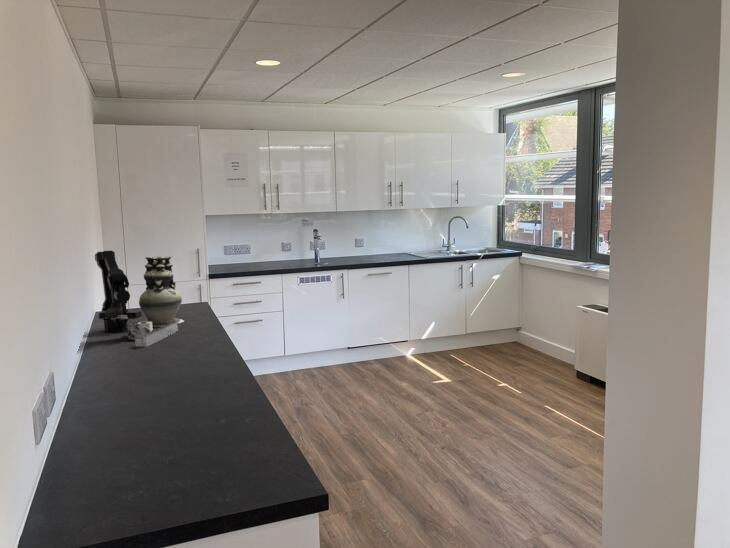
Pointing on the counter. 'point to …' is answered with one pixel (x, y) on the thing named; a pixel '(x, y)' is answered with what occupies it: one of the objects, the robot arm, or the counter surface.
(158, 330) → the bracket
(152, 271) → the decorative urn
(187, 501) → the counter surface
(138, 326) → the rock
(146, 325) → the module
